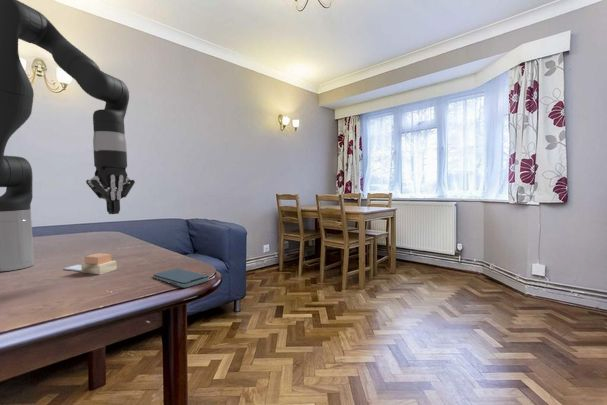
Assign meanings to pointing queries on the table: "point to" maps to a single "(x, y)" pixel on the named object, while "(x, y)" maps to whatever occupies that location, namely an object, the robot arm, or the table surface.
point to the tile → (98, 258)
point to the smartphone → (182, 277)
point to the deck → (99, 267)
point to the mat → (74, 268)
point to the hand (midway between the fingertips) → (113, 213)
